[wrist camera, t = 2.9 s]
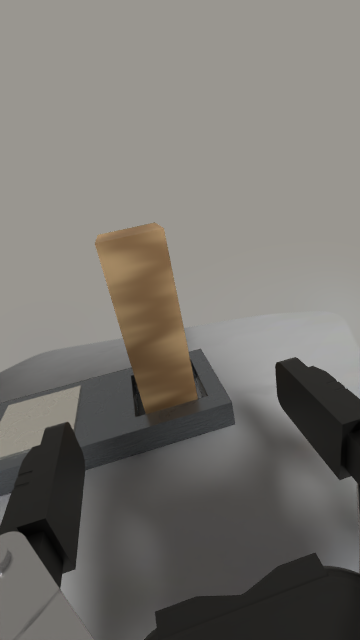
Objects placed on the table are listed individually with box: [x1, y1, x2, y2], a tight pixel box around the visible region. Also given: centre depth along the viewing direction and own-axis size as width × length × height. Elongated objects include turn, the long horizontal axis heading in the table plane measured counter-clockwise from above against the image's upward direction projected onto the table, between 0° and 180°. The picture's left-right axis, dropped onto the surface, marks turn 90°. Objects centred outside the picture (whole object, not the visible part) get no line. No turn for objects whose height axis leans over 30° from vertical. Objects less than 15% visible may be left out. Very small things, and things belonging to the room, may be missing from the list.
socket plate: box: [0, 349, 235, 496], centre depth 24 cm, size 18×8×2 cm, turn 102°
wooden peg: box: [95, 223, 198, 414], centre depth 22 cm, size 4×4×14 cm
